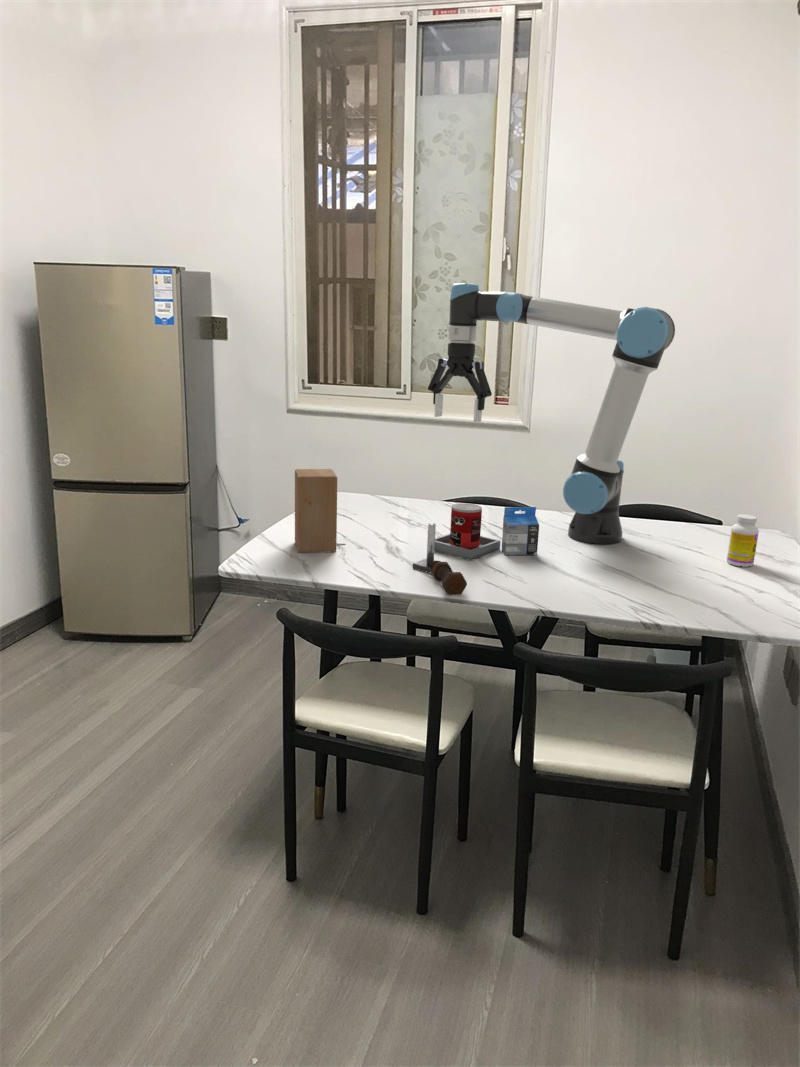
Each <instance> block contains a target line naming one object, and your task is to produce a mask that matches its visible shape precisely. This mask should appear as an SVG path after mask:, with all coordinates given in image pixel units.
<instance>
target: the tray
mask: <svg viewBox="0 0 800 1067" xmlns="http://www.w3.org/2000/svg"><path fill="white" fill-rule="evenodd" d="M501 543H502V540H499V539H495V538H490V537H487V536H483V535H480V545H479V547H477V548H474V549H471V550H470V549H466V548H462V547H458V546H454V545H450V533H447V534H444V535H441V536H438V537H435V549H434V552H437V553H441V554H444V555H448V556H452V557H455V558H460V559H463V560H467V561H471V562H472V561H473V560H477V559H479V558H482V557H486V556H488V555H490V554H494V553H495V552H499V551H501Z"/></svg>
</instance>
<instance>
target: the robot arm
mask: <svg viewBox="0 0 800 1067" xmlns="http://www.w3.org/2000/svg"><path fill="white" fill-rule="evenodd" d="M479 287H480V286H479V285H478V284H477V283H465V282H463V283H460V282H459V283H456V282H455V283H453V284H452V286H451V290H450V291H451V292H450V298H449V322H448V325H449V326H448V341H450V342H448V344H447V356H448V357H447V358H448V359H447V358H445V357H444V358H442V357H441V358H439V359H438V362H437V366H436V369H435V371H434V373H433V376H432V377H431V380H430V381H429V385H428V386H427V390H428V391H431V392H432V394H433V395H432V396H433V405H434V416H433V417H435V418H437V417H443V408H444V407H443V404H444V393H443V390H444V389H445V387H446V386H447V385H448V384H449V382H450V381H451V380H452V378H453V377H462V378H465V379H466V381H468V384H469V385H470V387H471V389H472V390H473V392H474V394H475V395H476V398H474V406H473V407H474V408H473V423H481V422H482V412H483V411H484V409H485V405H486V404H485V403H486V398H488V397H491V396H492V395H493V394H492V391H491V387H490V385H489V380H488V378H487V375H486V372H485V367H484V365H485V364H484V363H485V362H484V361H483V360H481V361H480V360H478V361H474V358H475V355H476V344H475V343H474V342H475V341H476V338H477V324H478V323H477V322H478V321H484V322H485V321H486V322H488V321H489V322H490V321H491V322H504V323H510V322H512V323H513V322H515V323H519V324H525V325H532V326H536V327H541V328H549V329H551V330H552V329H553V330H557V331H563V332H570V333H575V334H581V335H586V336H591V337H598V338H601V339H608V340H614V341H616V343H615V345H614V349H613V352H612V355H611V357H612V359H613V361H614V364H615V365H614V368H613V371H612V374H611V377H610V379H609V383H608V385H607V387H606V391H605V393H604V397H603V400H602V402H601V404H600V408H599V410H598V414H597V417H596V420H595V422H594V425H593V428H592V430H591V435H590V437H589V439H588V443H587V446H586V449H585V451H584V452H583V453H581V454H579V455H577V457H576V458H575V459H576V460H575V463H574V465H573V467H572V472H571V474H570V475H569V476H568V477H567V478H566V480H565V482H564V484H563V488H562V496H563V499H564V501H565V504H566V505H567V507H568V508H570V509H571V510H572V511H574V514H573V516H572V519H571V521H570V523H569V525H568V531H567V535H568V537H569V538H571V539H573V540H576V541H578V542H579V541H580V542H583V543H589V544H596V545H597V544H599V545H608V544H609V545H610V544H611V545H612V544H616V543H617V544H618V543H620V542H621V541H622V540H623V530H622V529H623V528H622V523H621V520H620V513H619V512H620V511H619V510H620V504H621V503H620V501H621V493H622V484H623V478H624V477H623V476H624V473H625V470H624V461H622V460H620V459H619V458H620V455H621V451H622V450H623V446H624V443H625V441H626V438H627V436H628V432H629V430H630V427H631V424H632V423H633V422H632V421H633V418H634V416H635V413H636V410H637V408H638V404H639V403H640V400H641V397H642V394H643V392H644V389H645V386H646V383H647V380H648V378H649V375H650V374H651V373H652V372H654V371H655V372H656V371H657V370H658V369H659V366H660V363H661V361H662V360H661V359H662V357H663V355H664V352H665V350H667V349H668V348H669V347H670V346H671V344H672V342H673V341H674V338H675V335H676V326H675V321H674V320H673V318H672V317H671V315H670V314H668V313H667V312H666V311H664V310H663V309H659V308H654V307H649V306H645V307H644V306H643V307H637V308H629V307H627V308H626V309H625V310H617V309H611V308H606V307H598V306H592V305H585V304H581V303H574V302H569V301H563V300H557V299H550V298H543V297H539V296H538V297H537V296H532V295H524V294H522V293H518V292H512V291H480V288H479ZM447 367H448V369H446V368H447ZM473 369H474V370H475V373H474V370H473ZM445 370H446V371H445Z"/></svg>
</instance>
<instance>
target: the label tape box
mask: <svg viewBox="0 0 800 1067" xmlns="http://www.w3.org/2000/svg"><path fill="white" fill-rule="evenodd" d="M536 511H537V506H505V507H504V511H503V512H504V514H503V519H502V521H503V522H502V539H501V552H502V553H503V555H505V556H533V555H534V556H535V555H538V548H539V545H538V544H539V533H540V523H539V521H538V519H537V517H536ZM517 512H520V513H517ZM521 512H522V513H521ZM523 512H524V513H523Z"/></svg>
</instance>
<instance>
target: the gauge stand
mask: <svg viewBox="0 0 800 1067" xmlns="http://www.w3.org/2000/svg"><path fill="white" fill-rule="evenodd" d="M436 525H437V524H436V523H434V522H430V523H428V524H427V545H426V547H427V548H426V558H424V559H422V560H418V561H416V562H413V563H412V568H413V569H415V568H416V569H415V570H418V569H420V570H419V571H422V570H423V571H422V572H425V571H427V572H426V573H429V572H431V564H433V562H434V561H438V560H436V559H435V551H434V549H435V538H436V529H437V528H436ZM430 574H432V572H431V573H430Z"/></svg>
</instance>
